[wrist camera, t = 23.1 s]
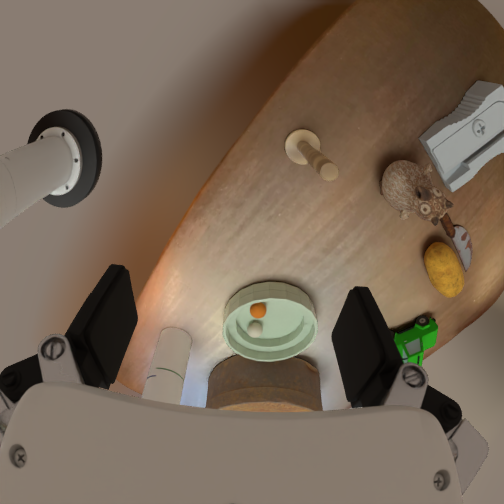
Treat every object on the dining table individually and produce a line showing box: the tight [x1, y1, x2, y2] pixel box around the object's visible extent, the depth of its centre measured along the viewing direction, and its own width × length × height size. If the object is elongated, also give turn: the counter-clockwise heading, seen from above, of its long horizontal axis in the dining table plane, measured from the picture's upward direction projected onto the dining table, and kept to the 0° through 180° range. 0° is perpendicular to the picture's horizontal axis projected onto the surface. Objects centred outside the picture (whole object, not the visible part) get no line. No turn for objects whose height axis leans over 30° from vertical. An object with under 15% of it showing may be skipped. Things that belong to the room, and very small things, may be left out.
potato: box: [424, 242, 464, 298], centre depth 42 cm, size 7×14×7 cm, turn 46°
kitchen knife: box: [440, 213, 472, 272], centre depth 42 cm, size 21×2×5 cm
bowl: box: [223, 282, 318, 362], centre depth 50 cm, size 17×17×5 cm
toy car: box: [390, 315, 438, 367], centre depth 52 cm, size 8×17×10 cm, turn 113°
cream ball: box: [247, 322, 263, 338], centre depth 51 cm, size 3×3×3 cm
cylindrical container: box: [142, 327, 192, 405], centre depth 45 cm, size 7×7×25 cm
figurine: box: [379, 160, 453, 226], centre depth 31 cm, size 9×10×15 cm
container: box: [205, 355, 323, 412], centre depth 58 cm, size 28×28×15 cm
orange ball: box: [250, 302, 266, 318], centre depth 48 cm, size 3×3×3 cm
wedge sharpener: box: [419, 81, 504, 192], centre depth 29 cm, size 11×20×7 cm, turn 137°
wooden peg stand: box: [284, 129, 339, 181], centre depth 29 cm, size 5×5×15 cm
